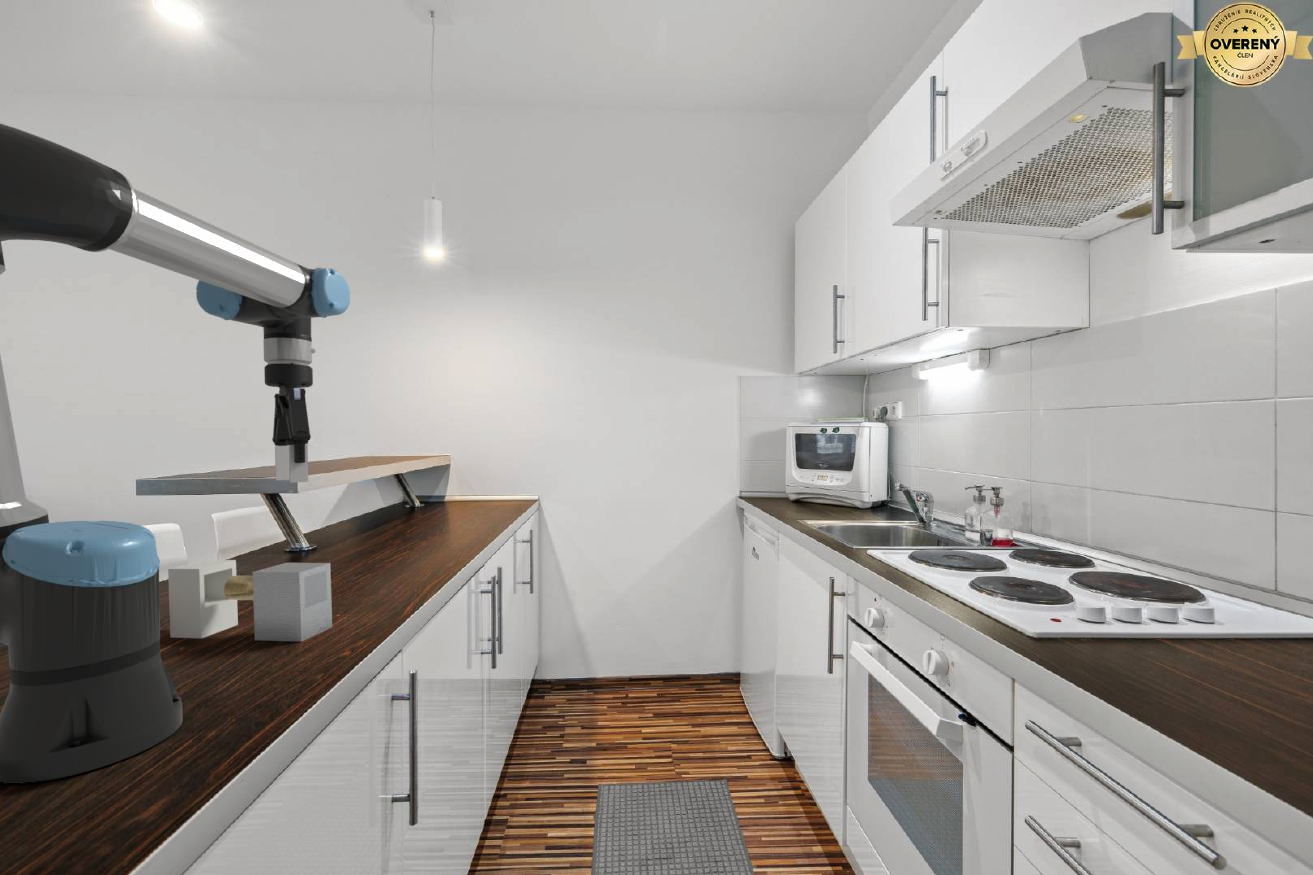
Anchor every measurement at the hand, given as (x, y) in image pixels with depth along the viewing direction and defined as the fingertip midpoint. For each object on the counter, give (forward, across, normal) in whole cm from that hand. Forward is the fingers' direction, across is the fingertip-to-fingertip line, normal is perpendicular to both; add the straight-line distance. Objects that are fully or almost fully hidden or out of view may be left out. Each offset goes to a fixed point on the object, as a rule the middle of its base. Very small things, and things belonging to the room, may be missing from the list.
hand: (291, 481), depth 109 cm
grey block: (+25, -11, +2) cm, 27 cm away
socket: (+25, +2, +13) cm, 28 cm away
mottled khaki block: (+19, -8, +5) cm, 21 cm away
